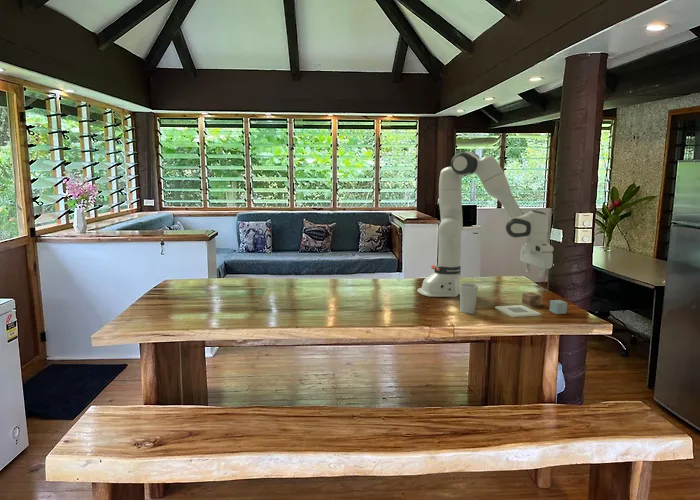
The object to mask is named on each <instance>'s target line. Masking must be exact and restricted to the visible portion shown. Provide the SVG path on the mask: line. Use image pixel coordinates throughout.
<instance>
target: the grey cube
mask: <svg viewBox="0 0 700 500" xmlns="http://www.w3.org/2000/svg"><path fill="white" fill-rule="evenodd" d="M567 307H568V302H566V301H564V300H562V299H551V300H549V310H548V311H549V312H551V313H553V314H555V315H560V314H561V315H564V314H567V309H568V308H567Z"/></svg>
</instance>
